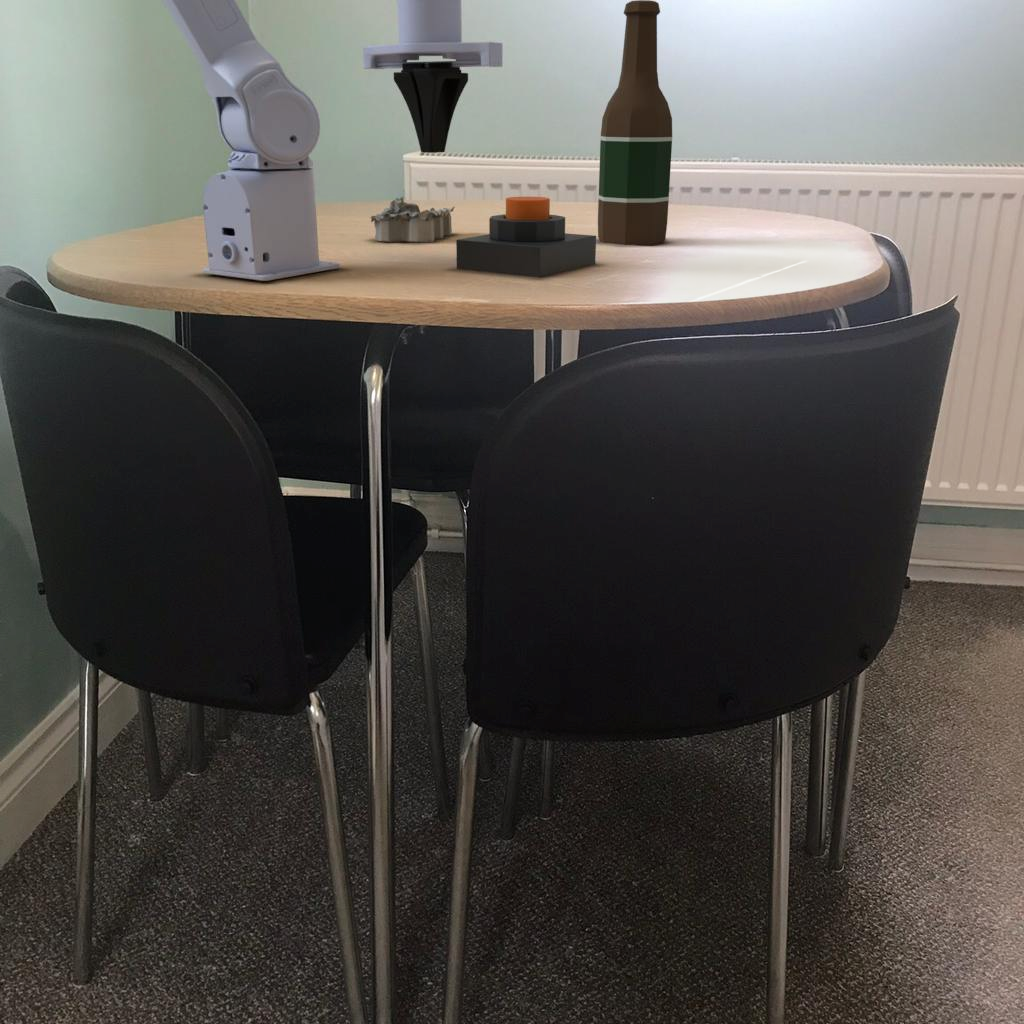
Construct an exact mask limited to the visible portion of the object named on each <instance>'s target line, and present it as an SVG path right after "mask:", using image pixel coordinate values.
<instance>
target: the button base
mask: <svg viewBox="0 0 1024 1024" xmlns="http://www.w3.org/2000/svg"><path fill="white" fill-rule="evenodd" d="M488 222H489V224H488V226H489V227H488V228H489V230H488V232H489V233H487V234H481V235H476V236H469V237H463V238H457V239H456V241H455V243H456V244H455V246H456V248H455V249H456V251H455V252H456V270H463V271H473V272H480V273H490V274H491V273H493V274H499V275H500V274H501V275H510V276H519V277H530V278H538V279H539V278H544V277H549V276H552V275H556V274H561V273H565V272H570V271H573V270H577V269H581V268H585V267H586V268H587V267H590V266H594V265H596V257H597V256H596V255H597V235H591V234H581V233H580V234H578V233H566V216H563V215H558V214H549V219H545V220H513V219H506V213H505V214H504V213H503V214H496V215H491V216H490V217H489V221H488Z"/></svg>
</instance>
